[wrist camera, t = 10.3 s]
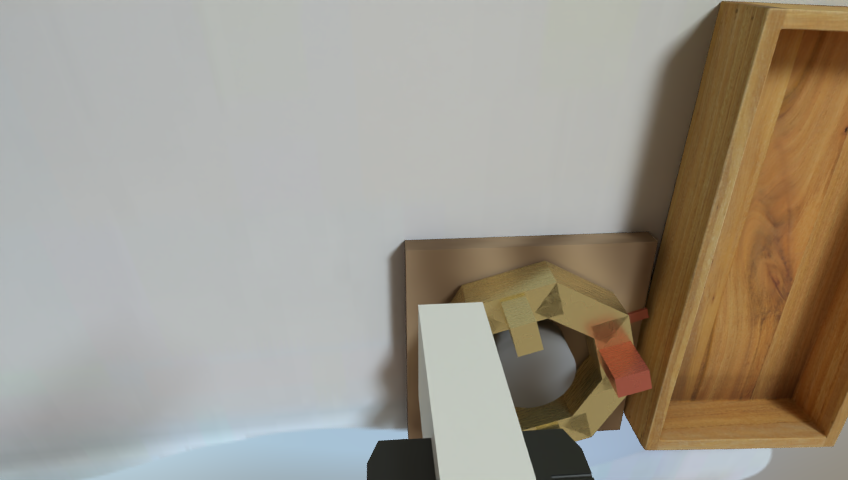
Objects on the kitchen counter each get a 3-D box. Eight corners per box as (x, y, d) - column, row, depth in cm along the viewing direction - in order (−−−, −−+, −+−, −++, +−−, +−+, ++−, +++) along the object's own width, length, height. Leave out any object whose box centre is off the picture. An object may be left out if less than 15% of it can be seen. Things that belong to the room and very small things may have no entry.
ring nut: (403, 302, 40) (408, 355, 35) (604, 243, 39) (640, 289, 34) (457, 443, 47) (467, 506, 42) (631, 395, 46) (664, 453, 41)
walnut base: (407, 427, 48) (410, 470, 44) (404, 240, 40) (408, 272, 36) (617, 416, 49) (638, 456, 45) (653, 231, 41) (682, 261, 38)
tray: (716, -2, 35) (774, 8, 30) (951, 9, 36) (1044, 21, 31) (615, 398, 49) (642, 452, 44) (787, 396, 50) (834, 447, 45)
